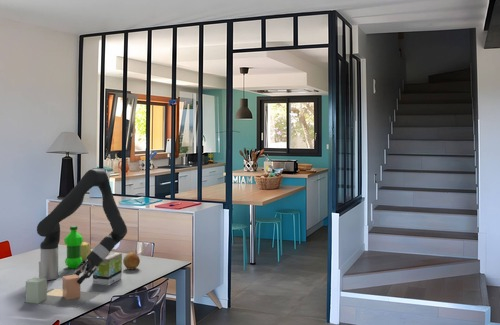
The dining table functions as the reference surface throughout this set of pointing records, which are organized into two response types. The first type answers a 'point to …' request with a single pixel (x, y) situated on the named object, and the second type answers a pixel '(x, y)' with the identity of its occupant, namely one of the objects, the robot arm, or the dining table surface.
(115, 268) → the tea box
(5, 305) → the dining table surface
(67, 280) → the orange block
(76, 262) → the plastic bottle
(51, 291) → the mat
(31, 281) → the grey-green block
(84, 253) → the cheese
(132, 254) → the onion
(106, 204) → the robot arm
